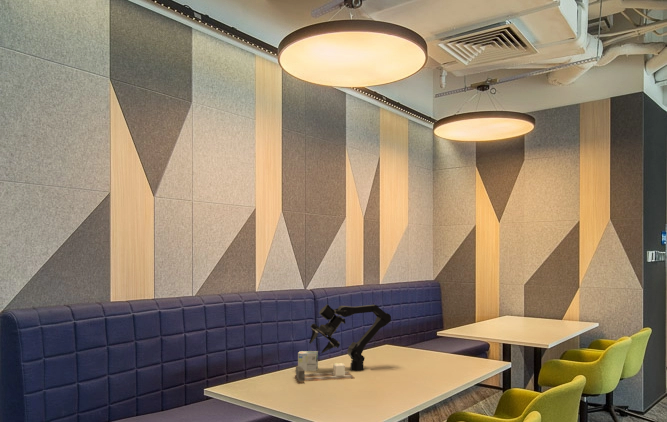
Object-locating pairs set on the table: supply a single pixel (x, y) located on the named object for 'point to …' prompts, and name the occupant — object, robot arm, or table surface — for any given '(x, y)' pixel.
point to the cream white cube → (339, 369)
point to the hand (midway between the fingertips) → (315, 348)
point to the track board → (318, 376)
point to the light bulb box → (308, 360)
